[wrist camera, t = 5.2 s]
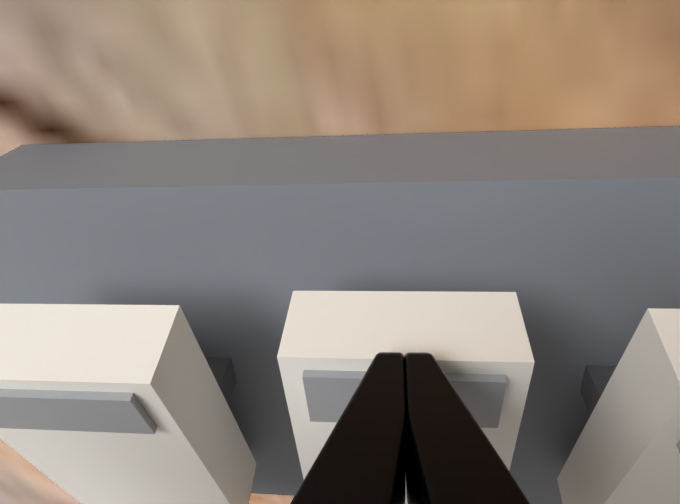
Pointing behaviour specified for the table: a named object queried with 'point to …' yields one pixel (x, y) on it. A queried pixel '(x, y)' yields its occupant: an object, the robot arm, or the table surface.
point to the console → (361, 250)
